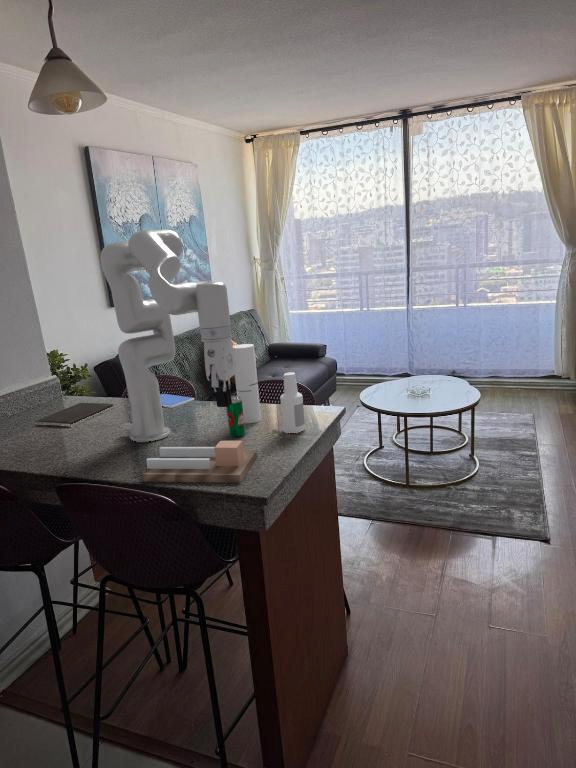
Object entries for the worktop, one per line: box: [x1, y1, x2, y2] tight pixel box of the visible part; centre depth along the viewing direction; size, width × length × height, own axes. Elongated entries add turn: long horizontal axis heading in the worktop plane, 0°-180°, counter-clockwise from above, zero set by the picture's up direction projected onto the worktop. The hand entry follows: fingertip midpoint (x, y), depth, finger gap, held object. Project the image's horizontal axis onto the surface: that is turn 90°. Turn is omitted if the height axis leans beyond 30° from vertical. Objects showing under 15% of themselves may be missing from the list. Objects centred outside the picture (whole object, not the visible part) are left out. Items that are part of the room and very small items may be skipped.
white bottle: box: [279, 371, 306, 435], centre depth 167 cm, size 7×7×18 cm
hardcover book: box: [35, 402, 114, 425], centre depth 205 cm, size 16×23×2 cm
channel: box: [146, 446, 215, 469], centre depth 145 cm, size 17×9×2 cm, turn 78°
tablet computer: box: [160, 393, 195, 409], centre depth 216 cm, size 19×13×1 cm, turn 53°
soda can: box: [225, 395, 246, 439], centre depth 168 cm, size 5×5×12 cm
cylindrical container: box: [233, 343, 262, 424], centre depth 180 cm, size 7×7×25 cm
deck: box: [141, 450, 258, 484], centre depth 145 cm, size 26×16×2 cm, turn 78°
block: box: [213, 440, 245, 466], centre depth 142 cm, size 6×5×5 cm
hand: (224, 405), depth 139 cm, fingers closed
